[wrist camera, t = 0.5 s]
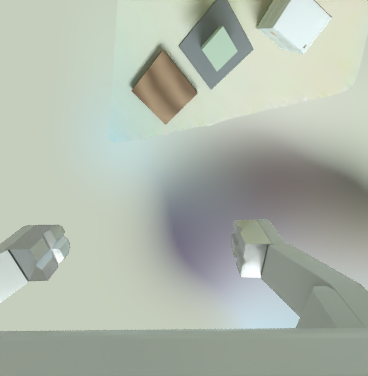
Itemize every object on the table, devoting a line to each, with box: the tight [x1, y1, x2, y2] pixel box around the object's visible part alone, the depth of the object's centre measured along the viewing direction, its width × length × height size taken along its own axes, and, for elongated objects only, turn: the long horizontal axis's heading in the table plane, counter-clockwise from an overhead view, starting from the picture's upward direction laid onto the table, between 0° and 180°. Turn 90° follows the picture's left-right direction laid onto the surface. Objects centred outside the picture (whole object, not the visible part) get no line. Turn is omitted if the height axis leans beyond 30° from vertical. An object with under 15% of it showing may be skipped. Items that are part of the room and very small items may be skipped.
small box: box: [257, 0, 332, 54], centre depth 33 cm, size 8×6×10 cm
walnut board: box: [132, 50, 197, 124], centre depth 46 cm, size 12×12×2 cm
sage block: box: [201, 26, 238, 71], centre depth 37 cm, size 5×5×7 cm
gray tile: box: [179, 0, 253, 89], centre depth 40 cm, size 12×12×1 cm
